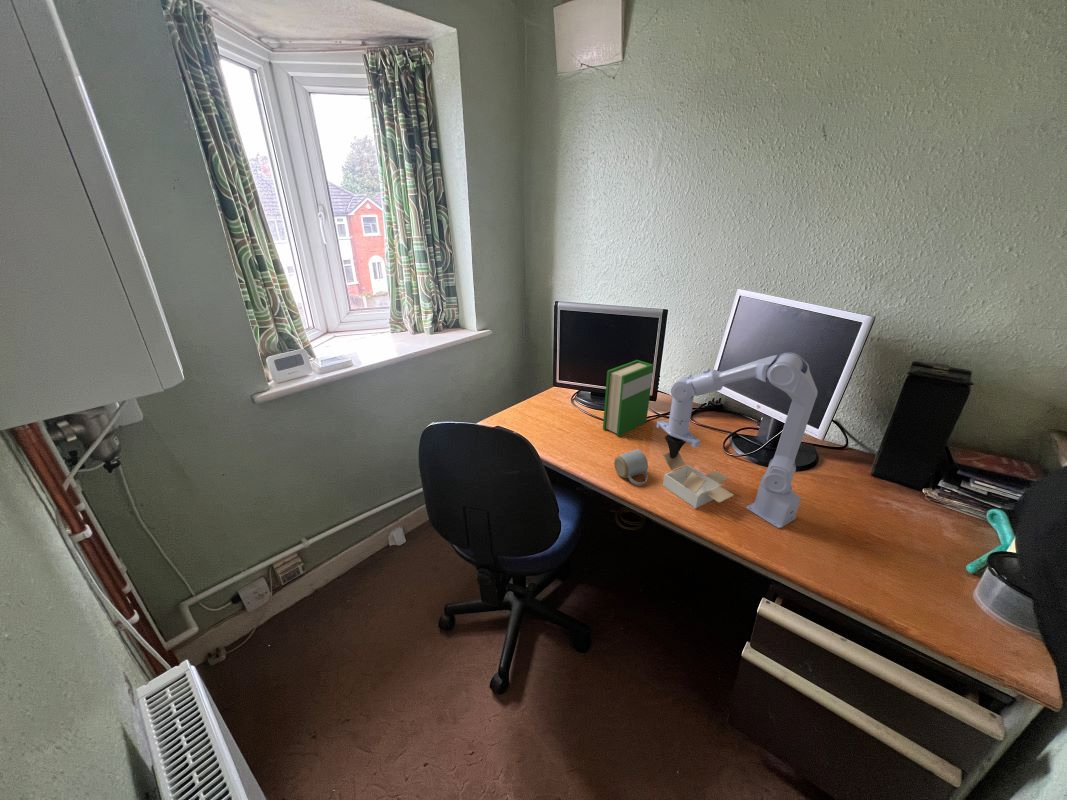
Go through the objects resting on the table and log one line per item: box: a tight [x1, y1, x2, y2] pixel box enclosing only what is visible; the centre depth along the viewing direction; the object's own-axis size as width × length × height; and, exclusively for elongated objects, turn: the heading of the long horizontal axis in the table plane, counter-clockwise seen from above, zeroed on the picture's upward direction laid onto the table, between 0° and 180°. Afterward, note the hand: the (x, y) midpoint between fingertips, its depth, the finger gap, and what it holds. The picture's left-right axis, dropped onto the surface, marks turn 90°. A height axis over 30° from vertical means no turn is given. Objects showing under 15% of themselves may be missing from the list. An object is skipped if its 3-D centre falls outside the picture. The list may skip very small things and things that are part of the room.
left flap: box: [682, 472, 706, 493], centre depth 112 cm, size 4×4×1 cm
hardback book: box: [602, 359, 655, 438], centre depth 150 cm, size 18×7×24 cm, turn 131°
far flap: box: [662, 452, 686, 471], centre depth 123 cm, size 5×6×1 cm
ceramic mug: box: [613, 448, 649, 486], centre depth 124 cm, size 11×8×8 cm
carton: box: [662, 464, 734, 510], centre depth 117 cm, size 16×15×4 cm
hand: (673, 456), depth 123 cm, fingers closed
